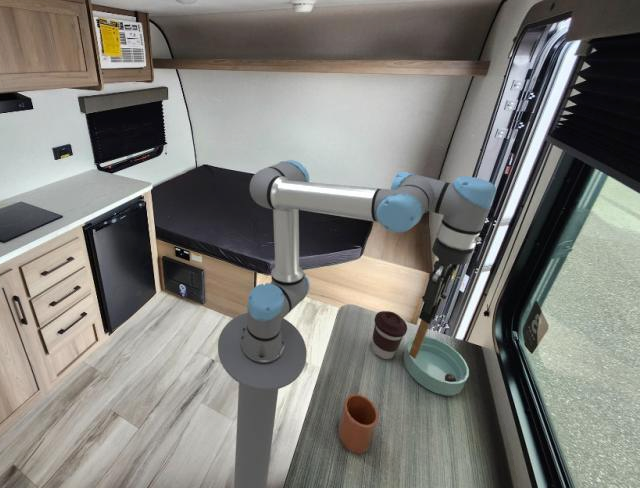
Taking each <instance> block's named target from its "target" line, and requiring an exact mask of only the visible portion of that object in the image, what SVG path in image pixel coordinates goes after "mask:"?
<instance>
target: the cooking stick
mask: <svg viewBox="0 0 640 488" xmlns="http://www.w3.org/2000/svg"><path fill="white" fill-rule="evenodd" d="M440 296H441V294H440ZM440 296H439V299H441V297H440ZM439 299H438V301H437V303H438V302H439ZM430 325H431V323H430V324H428V323H427V322H425V321H423V320H422V319H420V323H419V324H418V328H417V331H416V334H415V336H414V337H415V338H414V337H413V338H414V341H413V344H412V347H411V349H410V352H409V355H410V356H412V357H413V358H415V359H416V357H417V356H418V354H419V351H420V349H421V346H422V343H423V341H424V338H425V336H427V333H428V331H429V328H430Z"/></svg>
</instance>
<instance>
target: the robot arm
mask: <svg viewBox="0 0 640 488" xmlns="http://www.w3.org/2000/svg"><path fill="white" fill-rule="evenodd" d="M249 193H250V196H251V198H252V200H253V201H254V202H255V203H256V204H257V205H259V206H261V207H263V208H266V209H268V210H269V209H270V210H272V221H273V239H274V240H273V243H274V267H272V269H271V275H270V276H271V281H270V282H269V283H268V282H266V283H265V284H263V283H260V284H258V285H256V286H254V287H253V289H251V290H250V293H249V294H248V299H247V300H248V301H247V312H246V313H247V327H246V328H243V331H244V332H243V334H242V337H241V349H242V352H243V353H244V355H245V356H246V357H247V358H248V359H249V360H251V361H252V362H254V363H258V364H270V363H273V362H275V361H277V360H278V359H279V358H280V357H281V355H282V353H283V349H284V342H283V338H282V335H281V331H280V327H281V321H282V319H283V318H284V319H285V318H286V316H287V315H288V314H289V313H291V311H293V310H294V309H295V308H296V307H297V306H298V305H299V304H300V303H302V302H303V300H305V298H306V296H307V295H308V294H309V292H310V288H311V287H310V280H309V278H308V277H307V276H306V275H307V274H306V273H305V272H304V270H303V268H302V267H301V266H300V219H299V218H300V215H299V213H300V212H299V211H305V212H312V213H319V214H324V215H331V216H338V217H343V218H350V219H355V220H356V219H357V220H362V221H363V220H364V221H369V222H374V223H375V222H376V223H379V224H380V225H381V227H383V228H385V229H386V230H388V231H390V232H393V233H405V232H407V231H409V230H410V229H413V227H414V226H416V225H417V224H418V223H419V222H420V221H421V219H422V218H423V217H422V216H423V215H424V214H425V213H426V212H431V213H434V214H437V215H442V218H441V221H440V224H439V226H438V229H437V232H436V237H435V239H434V242H433V245H432V248H431V250H432V254H433V256H436V258H437V259H438V260H435V261H434V264H433V270H432V271H431V272H430V273H429V274H428V275H429V276H428V280H427V281H428V282H427V285H426V288H425V291H424V295H422V297H421V299H422V302H423V304H422V307H421V310H420V313H419V314H418V318H419V320H421V319H422V320H423V321H425V322H427V323H428V324H430V325H431V323H432V321H433V320H434V319H435V318H436V315H437V312H438V311H439V307H440V305H441V303H442V300H446V299H447V297H448V296H447V295H446V294H445V293H447V291H448V288H449V286H450V283H451V281H452V279H453V276H454V275H455V272H456V270H458V267H459V266H463V265H467V264H468V263H469V262H470V260H471V257H472V255H473V253H474V248H475V246H476V244H477V242H481V241H482V237H479V236H480V234H481V232H482V229H483V227H484V225H485V222H486V220H487V218H488V216H489V214H490V211H491V208H492V205H493V202H494V200H495V196H496V194H497V188H496V186H495V185H494V184H493V183H492V182H490V181H488V180H485V179H483V178H479V177H476V176H467V175H466V176H465V175H464V176H463V175H462V176H459V177H456V179H455V181H454V182H447V181H444V180H439V179H435V178H432V177H428V176H423V175H420V174H418V173H411V172H406V171H399V172H398V173H397V174H396V175H395V177H394V179H393V181H392V182H391V186H390V188H379V187H369V186H368V187H367V186H356V185H342V184H335V183H322V182H310V174H309V172H308V170H307V168H306V167H305V166H304V165H303V164H302V163H301V162H299V161H296V160H294V159H288V160H282V161H280V162H278V163H275V164H273V165H270V166H268V167H264V168H261V169H259V170H258V171H257V172H255V173H254V174H253V176H252V178H251V179H250V182H249ZM440 294H441V296H440ZM439 296H440V299H439ZM438 299H439V302H438V303H437V301H438Z"/></svg>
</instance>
